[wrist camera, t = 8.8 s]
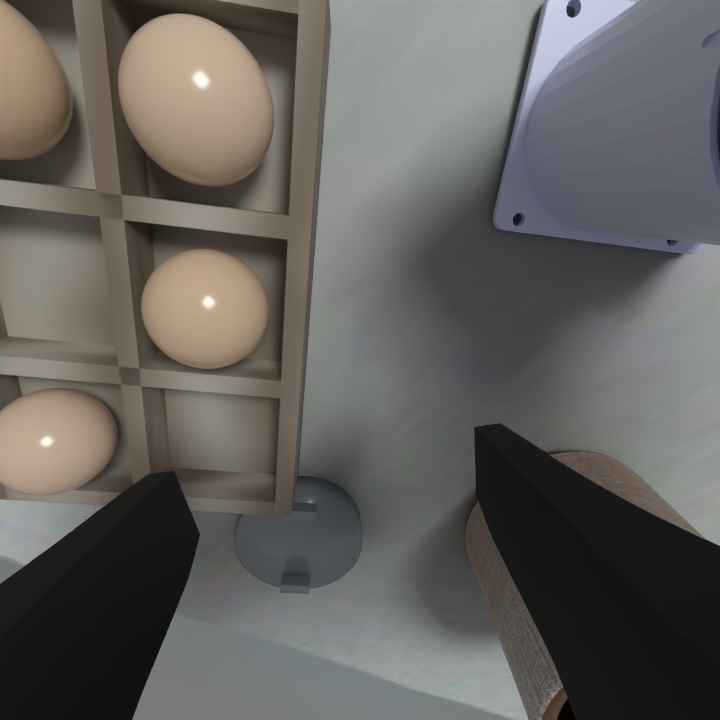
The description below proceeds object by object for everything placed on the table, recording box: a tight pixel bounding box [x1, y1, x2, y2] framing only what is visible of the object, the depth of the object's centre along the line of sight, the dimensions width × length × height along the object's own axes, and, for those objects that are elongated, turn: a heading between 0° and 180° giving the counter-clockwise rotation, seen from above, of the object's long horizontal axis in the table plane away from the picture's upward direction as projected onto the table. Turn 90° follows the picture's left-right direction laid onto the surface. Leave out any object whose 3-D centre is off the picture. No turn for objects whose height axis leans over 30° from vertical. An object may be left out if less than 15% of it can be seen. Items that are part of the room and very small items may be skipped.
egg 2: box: [0, 388, 118, 496], centre depth 16 cm, size 4×4×4 cm
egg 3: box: [118, 13, 274, 187], centre depth 12 cm, size 4×4×4 cm
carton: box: [0, 0, 331, 517], centre depth 16 cm, size 14×20×3 cm
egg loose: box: [141, 249, 269, 369], centre depth 14 cm, size 4×4×4 cm
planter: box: [465, 451, 706, 720], centre depth 19 cm, size 11×11×10 cm
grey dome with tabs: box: [234, 476, 362, 594], centre depth 22 cm, size 7×7×2 cm
